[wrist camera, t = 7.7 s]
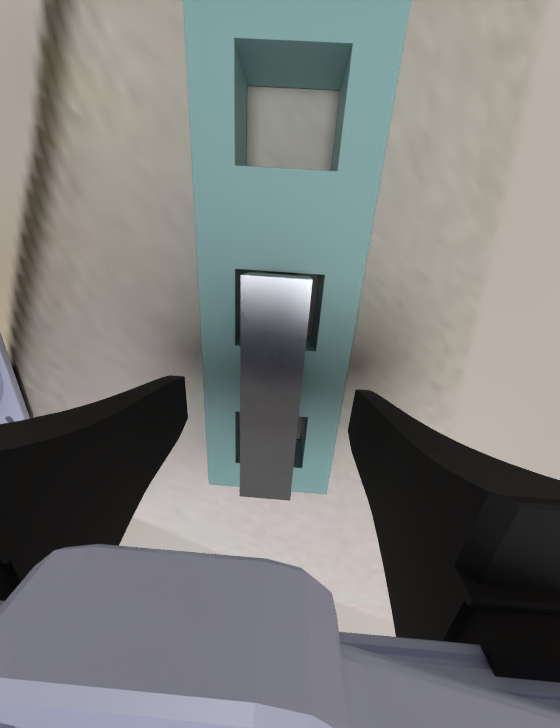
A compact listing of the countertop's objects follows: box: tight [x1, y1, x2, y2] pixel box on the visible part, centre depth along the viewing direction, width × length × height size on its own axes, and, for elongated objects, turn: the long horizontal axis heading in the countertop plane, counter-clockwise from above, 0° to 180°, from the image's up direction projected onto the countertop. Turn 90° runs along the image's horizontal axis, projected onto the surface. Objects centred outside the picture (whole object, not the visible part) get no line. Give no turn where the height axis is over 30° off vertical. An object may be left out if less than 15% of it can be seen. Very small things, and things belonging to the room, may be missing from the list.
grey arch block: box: [240, 272, 313, 500], centre depth 13 cm, size 2×10×5 cm, turn 177°
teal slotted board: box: [183, 0, 411, 494], centre depth 13 cm, size 21×7×2 cm, turn 177°
